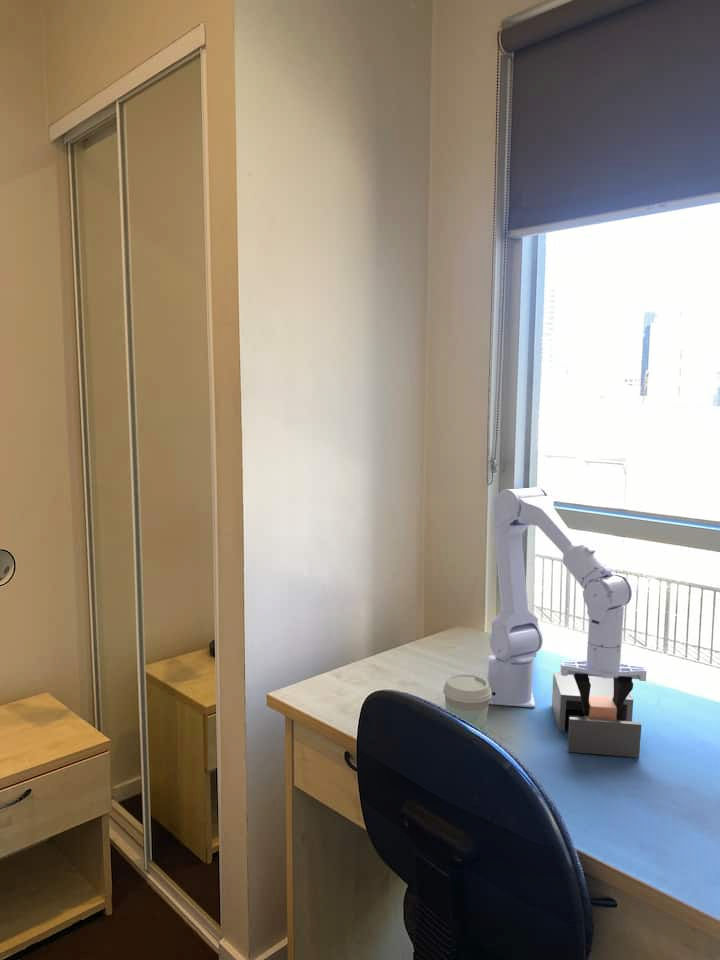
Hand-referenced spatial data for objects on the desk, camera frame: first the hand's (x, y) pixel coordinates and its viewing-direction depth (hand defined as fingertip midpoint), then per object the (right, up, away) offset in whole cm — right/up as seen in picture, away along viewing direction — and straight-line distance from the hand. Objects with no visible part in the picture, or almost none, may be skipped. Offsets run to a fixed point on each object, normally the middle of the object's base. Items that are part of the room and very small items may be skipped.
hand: (600, 715), depth 130 cm
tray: (0, -5, +1) cm, 5 cm away
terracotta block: (0, -2, 0) cm, 2 cm away
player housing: (+1, -4, +10) cm, 11 cm away
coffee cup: (-25, -5, -1) cm, 25 cm away
